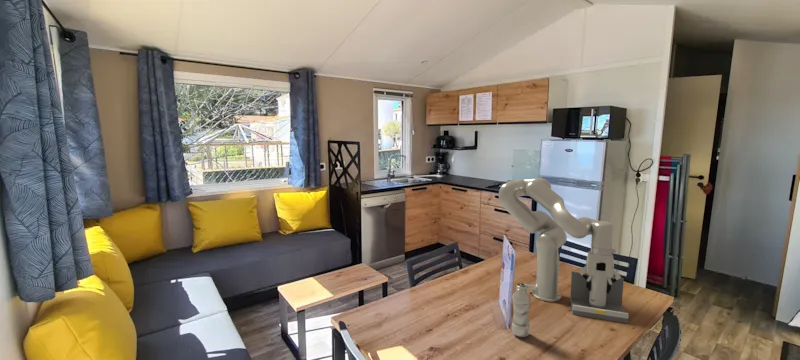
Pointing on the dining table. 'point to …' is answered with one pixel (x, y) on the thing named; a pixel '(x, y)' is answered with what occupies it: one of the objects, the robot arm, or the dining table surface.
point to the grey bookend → (583, 308)
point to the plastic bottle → (521, 311)
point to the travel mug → (598, 287)
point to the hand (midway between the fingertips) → (598, 290)
